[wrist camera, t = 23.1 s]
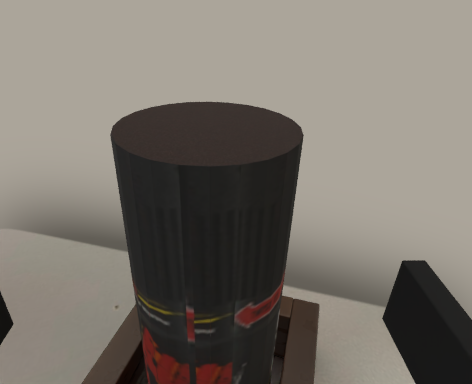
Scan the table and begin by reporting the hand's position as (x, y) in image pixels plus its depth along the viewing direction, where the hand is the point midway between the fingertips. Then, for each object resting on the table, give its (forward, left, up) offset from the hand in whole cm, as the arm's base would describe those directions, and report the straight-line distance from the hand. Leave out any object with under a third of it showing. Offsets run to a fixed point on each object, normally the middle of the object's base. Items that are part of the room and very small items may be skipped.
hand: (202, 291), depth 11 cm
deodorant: (-2, +1, -10) cm, 10 cm away
